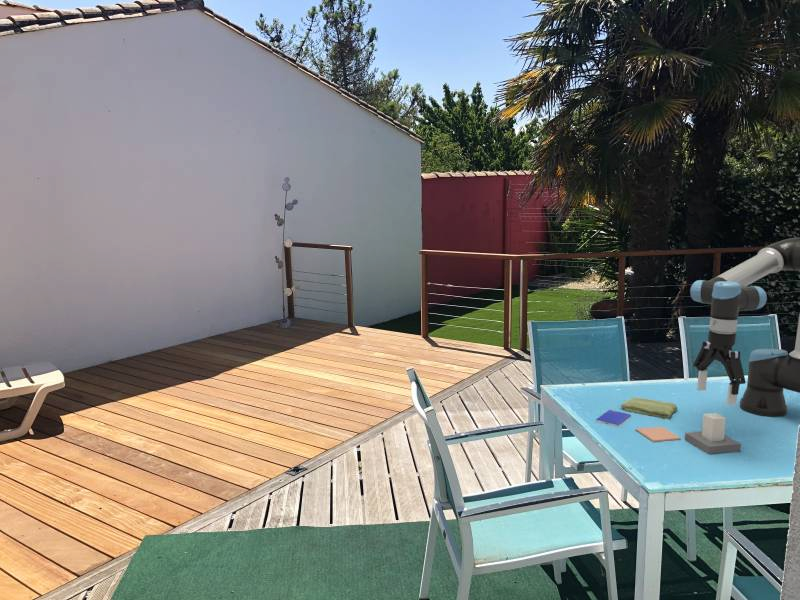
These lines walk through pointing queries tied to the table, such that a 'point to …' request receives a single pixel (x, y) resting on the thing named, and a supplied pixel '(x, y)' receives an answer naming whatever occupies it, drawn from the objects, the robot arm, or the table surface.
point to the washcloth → (650, 407)
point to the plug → (713, 427)
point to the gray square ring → (712, 443)
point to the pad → (658, 434)
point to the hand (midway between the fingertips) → (715, 396)
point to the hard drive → (613, 418)
